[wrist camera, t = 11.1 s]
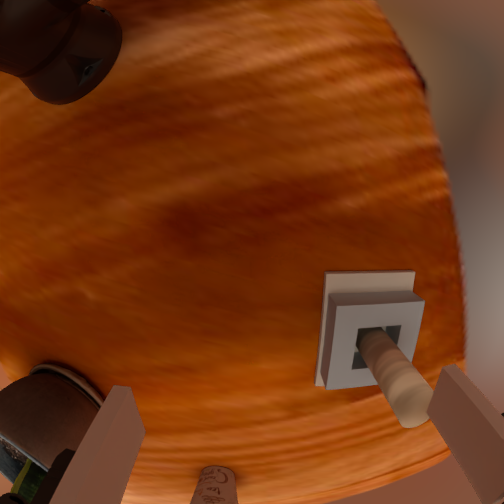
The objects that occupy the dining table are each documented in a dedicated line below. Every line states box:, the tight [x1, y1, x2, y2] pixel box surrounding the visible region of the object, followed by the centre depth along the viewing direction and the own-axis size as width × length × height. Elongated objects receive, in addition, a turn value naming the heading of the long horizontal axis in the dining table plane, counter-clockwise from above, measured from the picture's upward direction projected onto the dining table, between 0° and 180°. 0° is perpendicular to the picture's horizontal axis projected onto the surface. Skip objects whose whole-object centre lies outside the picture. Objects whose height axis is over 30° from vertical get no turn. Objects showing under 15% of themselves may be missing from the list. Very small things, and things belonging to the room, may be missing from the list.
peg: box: [356, 327, 434, 428], centre depth 28 cm, size 4×4×16 cm
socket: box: [314, 270, 425, 390], centre depth 34 cm, size 16×12×5 cm
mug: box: [190, 466, 238, 504], centre depth 39 cm, size 8×13×10 cm, turn 172°
